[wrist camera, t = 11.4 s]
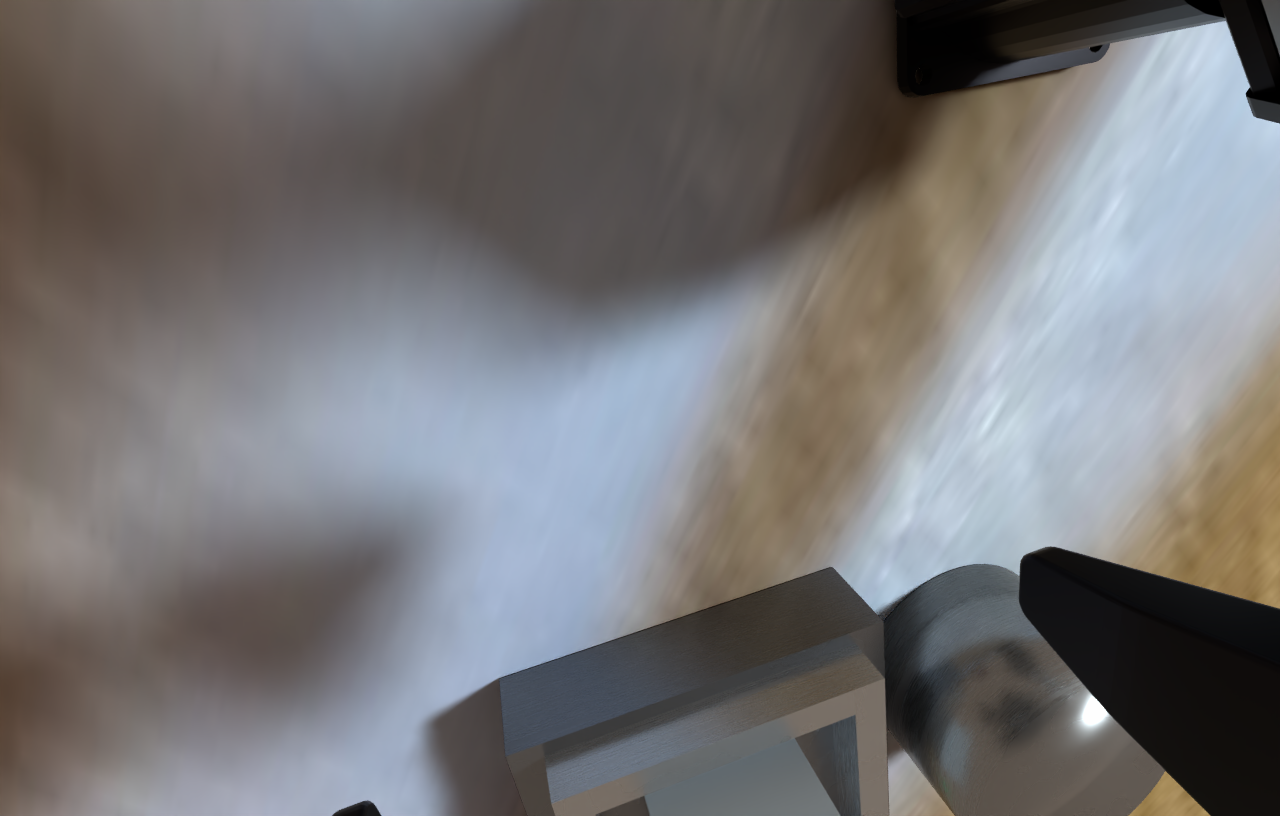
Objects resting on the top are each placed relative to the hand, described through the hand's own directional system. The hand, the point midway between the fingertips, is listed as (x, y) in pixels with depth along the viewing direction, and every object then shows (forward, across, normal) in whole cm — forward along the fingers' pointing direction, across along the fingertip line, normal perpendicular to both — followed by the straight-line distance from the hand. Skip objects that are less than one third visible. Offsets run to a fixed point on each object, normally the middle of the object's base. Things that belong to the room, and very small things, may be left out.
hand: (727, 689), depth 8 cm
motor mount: (+11, -5, +15) cm, 19 cm away
